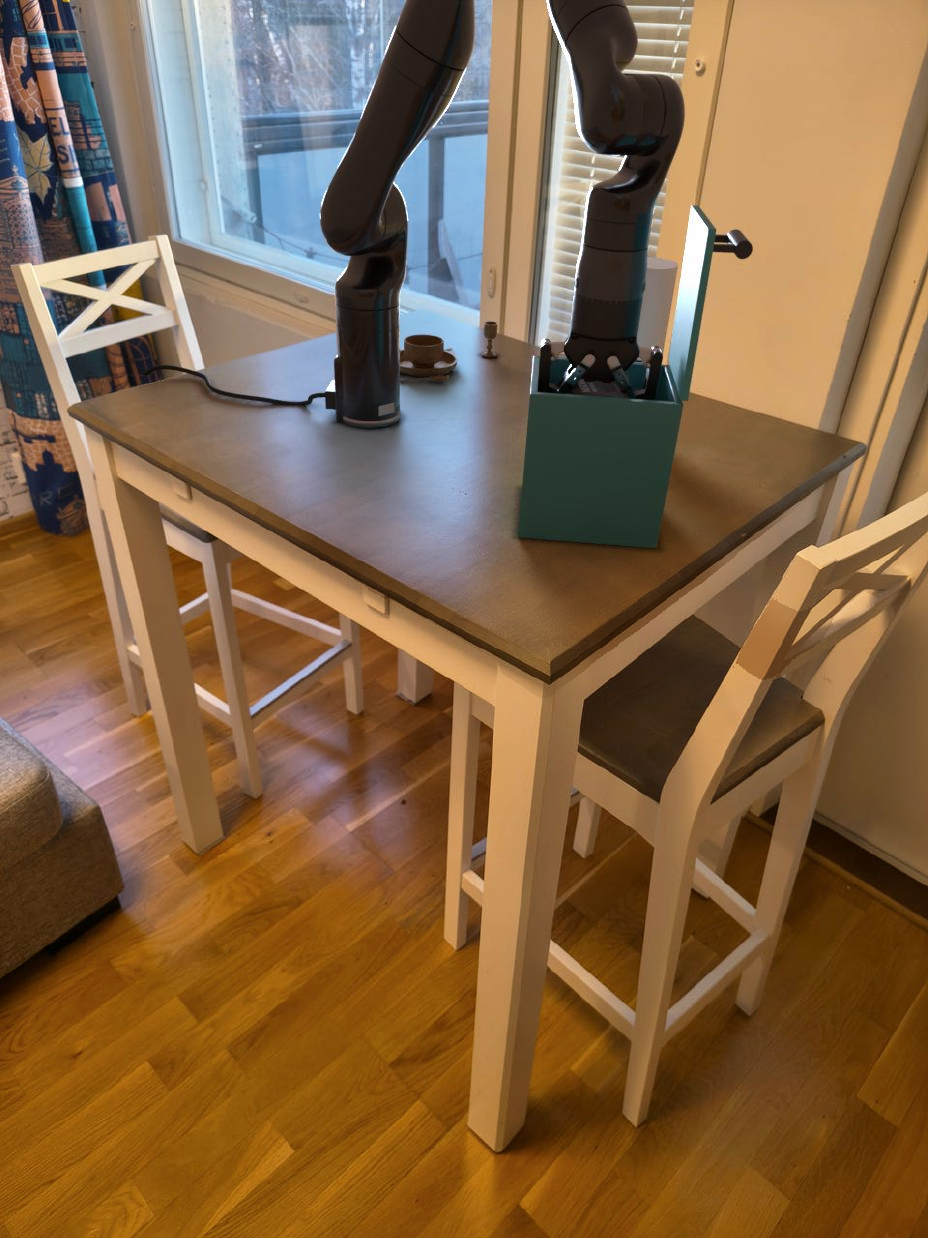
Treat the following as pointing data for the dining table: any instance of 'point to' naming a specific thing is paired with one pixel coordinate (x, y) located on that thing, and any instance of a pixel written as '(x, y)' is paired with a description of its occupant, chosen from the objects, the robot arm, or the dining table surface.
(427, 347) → the place setting
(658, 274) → the cylindrical container
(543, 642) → the dining table surface
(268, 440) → the dining table surface
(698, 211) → the cool box lid
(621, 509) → the teal open box
